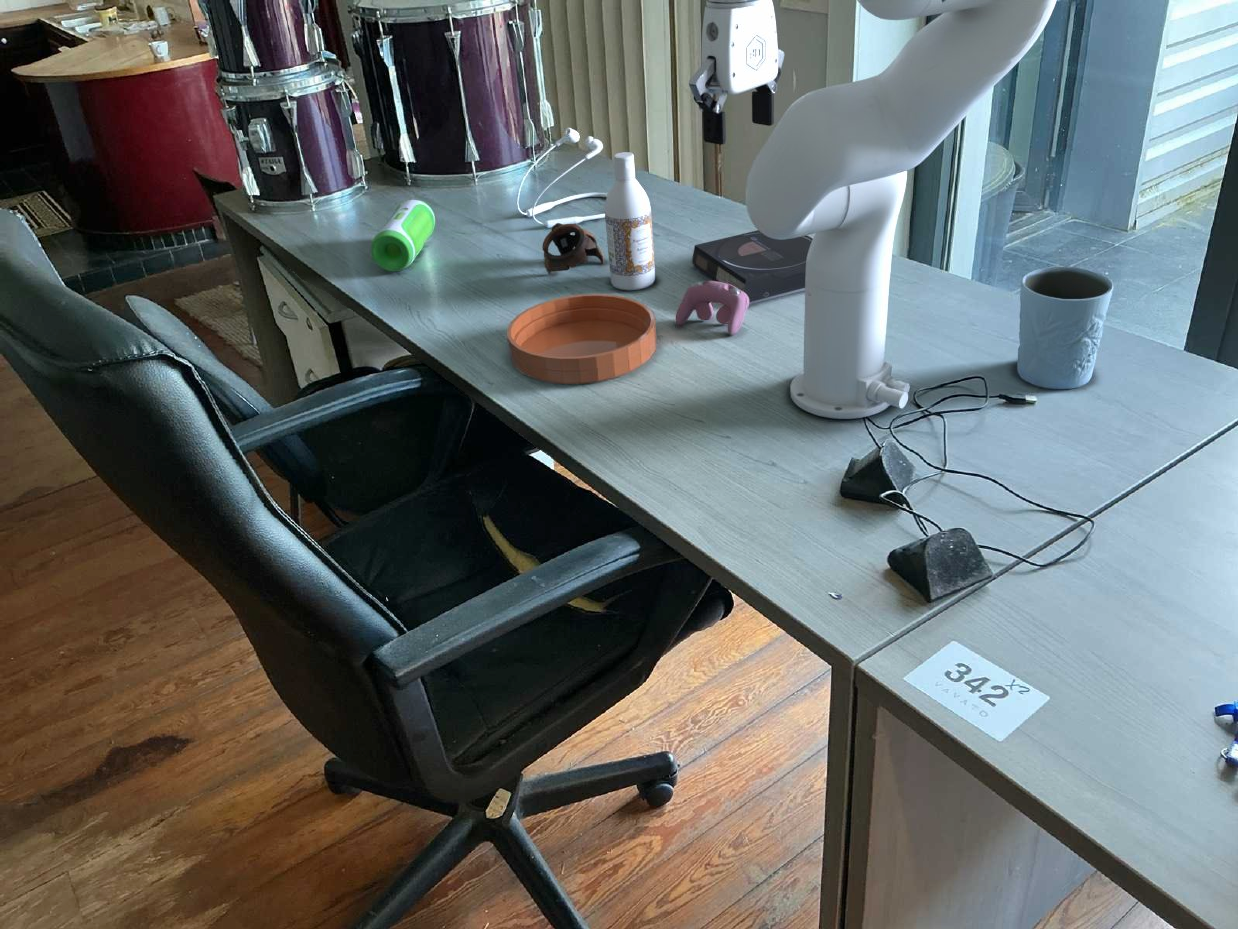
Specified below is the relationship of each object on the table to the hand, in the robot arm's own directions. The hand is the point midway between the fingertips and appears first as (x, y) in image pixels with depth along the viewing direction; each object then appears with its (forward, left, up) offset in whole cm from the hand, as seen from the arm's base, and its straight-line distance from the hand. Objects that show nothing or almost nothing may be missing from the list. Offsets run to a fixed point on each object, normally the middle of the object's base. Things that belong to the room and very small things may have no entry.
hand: (739, 133), depth 134 cm
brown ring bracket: (+35, +1, -26) cm, 44 cm away
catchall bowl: (+11, +21, -26) cm, 35 cm away
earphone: (+54, -17, -26) cm, 63 cm away
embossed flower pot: (-41, -10, -26) cm, 50 cm away
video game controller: (+2, +4, -26) cm, 27 cm away
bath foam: (+22, 0, -26) cm, 34 cm away
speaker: (+63, +14, -26) cm, 70 cm away
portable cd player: (+7, -14, -26) cm, 31 cm away
